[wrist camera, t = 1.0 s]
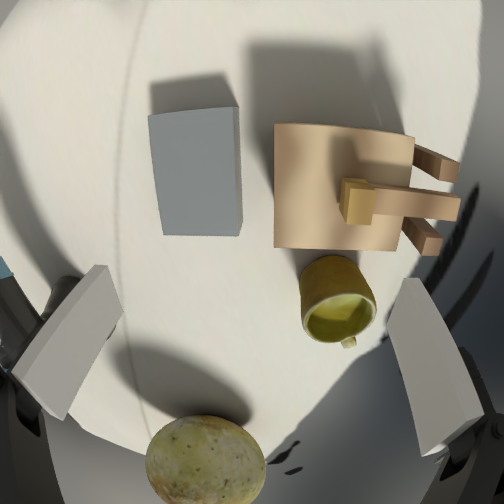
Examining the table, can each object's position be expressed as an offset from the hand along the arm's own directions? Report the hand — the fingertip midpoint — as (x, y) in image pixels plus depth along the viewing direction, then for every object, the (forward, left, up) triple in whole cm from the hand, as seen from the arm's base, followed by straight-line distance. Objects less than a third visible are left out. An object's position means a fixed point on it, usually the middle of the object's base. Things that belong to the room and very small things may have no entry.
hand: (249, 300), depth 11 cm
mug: (+9, -17, -23) cm, 30 cm away
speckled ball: (-14, -65, -23) cm, 70 cm away
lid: (+7, 0, -15) cm, 17 cm away
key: (+12, 0, -13) cm, 18 cm away
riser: (-8, 0, -22) cm, 24 cm away
